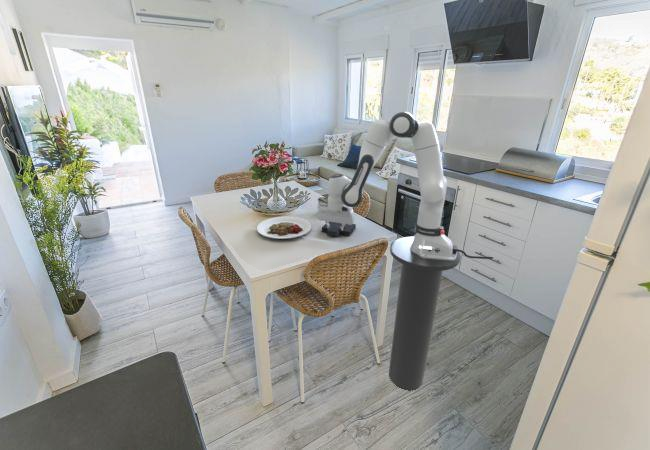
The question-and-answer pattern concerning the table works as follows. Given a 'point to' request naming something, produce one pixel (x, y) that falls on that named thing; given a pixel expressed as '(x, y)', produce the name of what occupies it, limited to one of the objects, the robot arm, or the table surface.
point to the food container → (323, 200)
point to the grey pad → (334, 230)
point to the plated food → (284, 227)
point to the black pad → (346, 229)
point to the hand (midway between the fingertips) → (335, 229)
